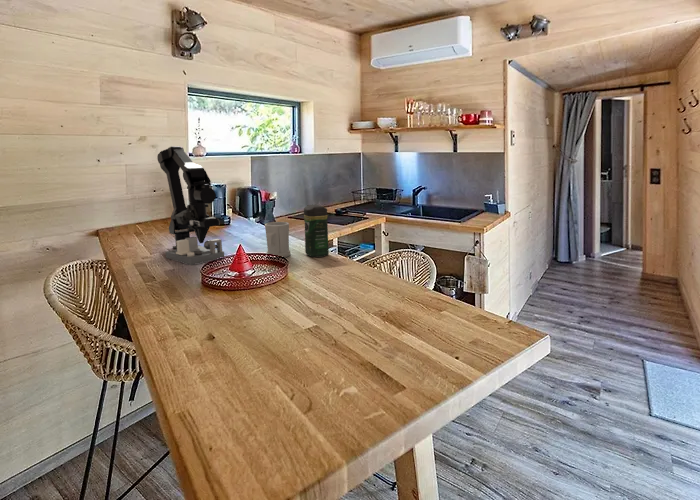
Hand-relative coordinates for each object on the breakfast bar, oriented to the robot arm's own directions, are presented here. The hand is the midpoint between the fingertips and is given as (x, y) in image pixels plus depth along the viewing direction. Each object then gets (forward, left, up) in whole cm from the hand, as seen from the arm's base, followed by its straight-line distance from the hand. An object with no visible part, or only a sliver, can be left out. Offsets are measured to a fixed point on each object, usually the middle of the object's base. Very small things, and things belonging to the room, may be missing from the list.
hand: (201, 243), depth 176 cm
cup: (+25, +17, -5) cm, 30 cm away
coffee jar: (+35, +27, -5) cm, 44 cm away
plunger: (+7, 0, -2) cm, 7 cm away
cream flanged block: (+3, -9, -2) cm, 10 cm away
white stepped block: (+1, -4, -2) cm, 5 cm away
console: (+2, -4, -5) cm, 7 cm away
